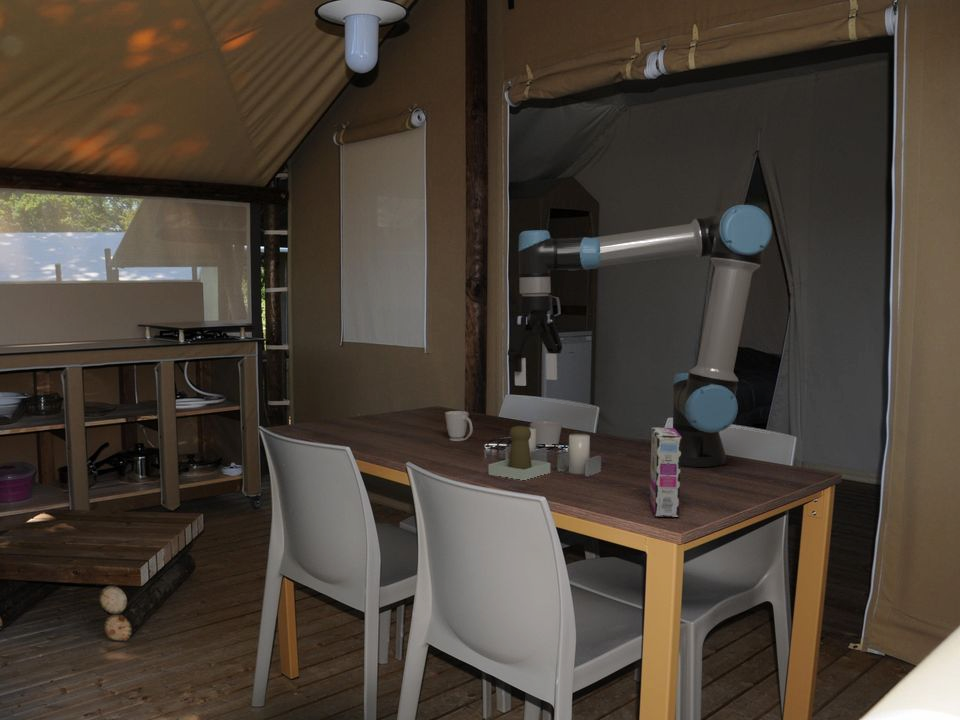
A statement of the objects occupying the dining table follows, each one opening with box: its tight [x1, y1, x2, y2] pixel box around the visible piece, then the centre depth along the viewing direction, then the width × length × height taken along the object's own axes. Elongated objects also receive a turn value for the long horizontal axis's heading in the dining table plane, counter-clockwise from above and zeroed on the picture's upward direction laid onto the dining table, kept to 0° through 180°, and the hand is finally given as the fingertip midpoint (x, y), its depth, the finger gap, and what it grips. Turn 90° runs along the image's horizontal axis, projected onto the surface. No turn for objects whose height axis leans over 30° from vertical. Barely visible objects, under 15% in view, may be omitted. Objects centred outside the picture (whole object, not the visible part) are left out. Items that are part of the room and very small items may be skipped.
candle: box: [529, 421, 563, 445], centre depth 241 cm, size 9×9×6 cm
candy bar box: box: [649, 427, 682, 518], centre depth 172 cm, size 11×5×16 cm, turn 175°
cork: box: [508, 425, 532, 470], centre depth 206 cm, size 6×6×11 cm
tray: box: [488, 459, 551, 481], centre depth 206 cm, size 11×11×2 cm
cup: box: [444, 410, 474, 442], centre depth 250 cm, size 7×10×8 cm
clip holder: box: [504, 445, 602, 477], centre depth 213 cm, size 25×6×4 cm, turn 51°
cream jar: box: [568, 433, 591, 475], centre depth 208 cm, size 5×5×9 cm
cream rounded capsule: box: [527, 426, 537, 456], centre depth 218 cm, size 5×5×9 cm
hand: (536, 382), depth 207 cm, fingers open, 13 cm apart
